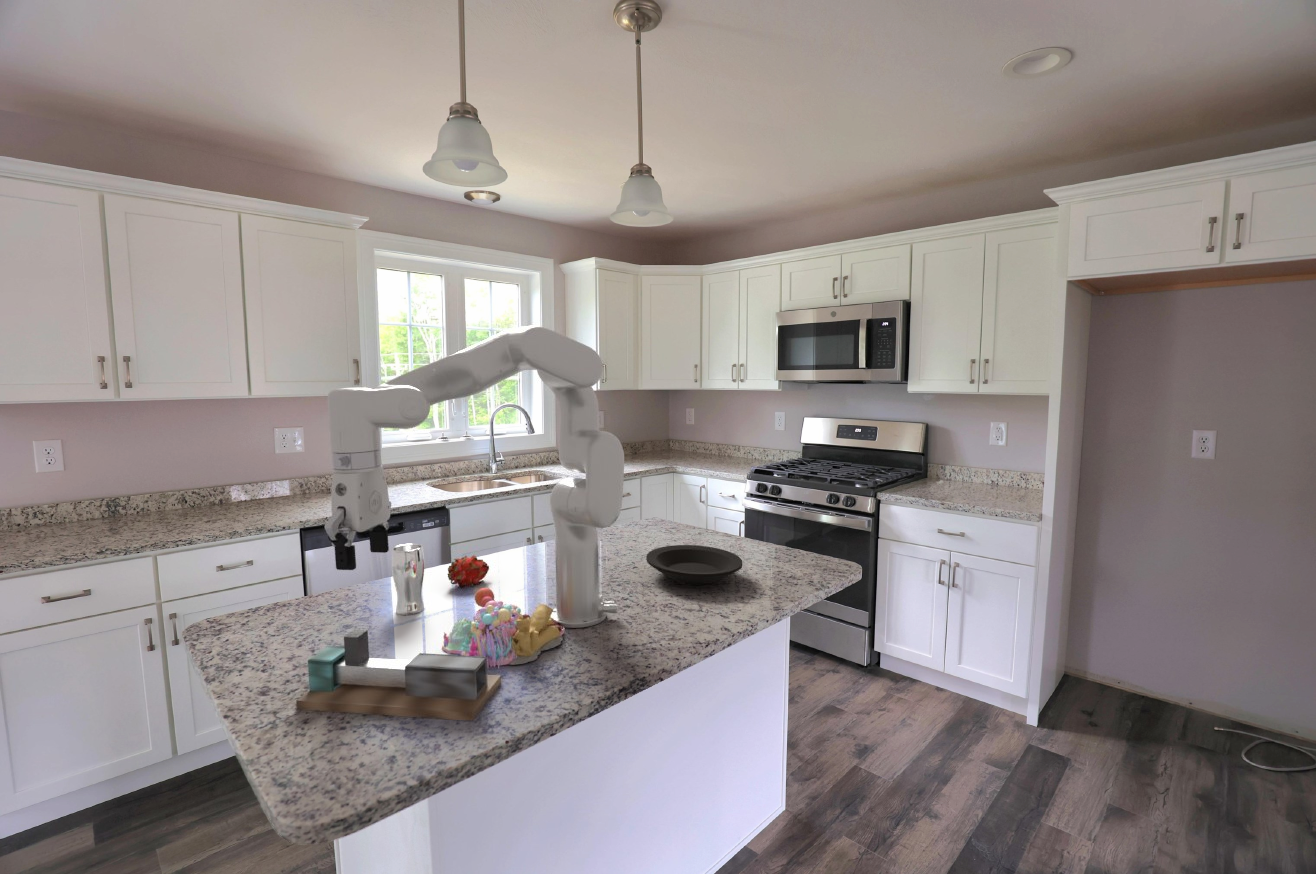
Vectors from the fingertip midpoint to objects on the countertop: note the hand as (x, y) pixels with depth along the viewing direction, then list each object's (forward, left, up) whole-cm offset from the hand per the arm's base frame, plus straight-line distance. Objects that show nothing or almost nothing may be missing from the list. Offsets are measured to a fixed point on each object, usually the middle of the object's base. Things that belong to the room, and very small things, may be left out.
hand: (363, 560), depth 106 cm
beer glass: (+12, -35, -23) cm, 43 cm away
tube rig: (-7, +2, -23) cm, 24 cm away
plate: (-52, -65, -23) cm, 86 cm away
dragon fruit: (+6, -54, -23) cm, 59 cm away
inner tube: (-3, +2, -20) cm, 21 cm away
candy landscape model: (-16, -21, -23) cm, 35 cm away
